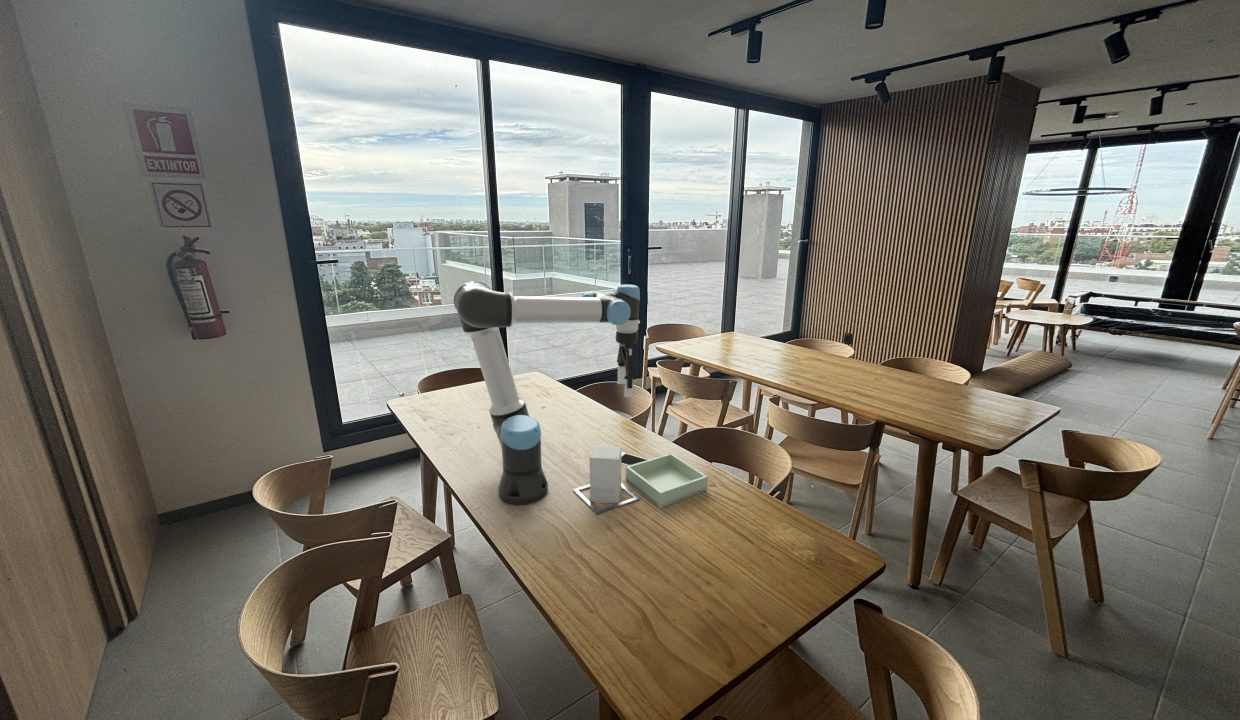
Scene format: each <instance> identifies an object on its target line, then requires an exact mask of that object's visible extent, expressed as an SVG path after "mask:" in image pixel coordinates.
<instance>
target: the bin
mask: <svg viewBox="0 0 1240 720" xmlns="http://www.w3.org/2000/svg"><path fill="white" fill-rule="evenodd" d="M708 478H709V476H708V475H706V474H705V473H703V472H701V471H700V470H699V469H697V468H696V467H694V466H692V465H691V464H689V463H687V462H686V461H684V460H683V459H681V458H680V457H678V456H676V455H675V454H673V453H672V452H670V453H667V454H664V455H660V456H657V457H654V458H650V459H649V460H647V461H643V462H640V463H637V464H633V465H630V466H625V481H626V482H627V483H628V484H629V485H631V486H632V487H633V488H635V489H636V490H637V491H638V492H639V493H640V494H642V495H643V496H644V497H645V498H647V499H648V500H650V501H651V502H652V503H653V504H655V505H656V506H657V507H658V508H659V509H662V508H664V507H666V506H669V505H672V504H674V503H678V502H681V501H683V500H686V499H688V498H691V497H694V496H696V495H699V494H701V492H702V493H704V492H703V491H705V490H707V491H708ZM705 492H706V491H705ZM698 493H699V494H698Z"/></svg>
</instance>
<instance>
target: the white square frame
mask: <svg viewBox="0 0 1240 720" xmlns="http://www.w3.org/2000/svg"><path fill="white" fill-rule="evenodd" d="M588 489H590V483H589V484H586V485H583V486H579V487H576V488H573V492H574V494H576V495H577V496H578V497H579V498H580V499H581V501H583V502H584V504H585V505H587V506H588V507H589V508H590V509H591V510H592V511H593V513H595V515H600V514H602V513H605V512H608V511H612V510H614V509H617V508H620V507H624V506H625V505H628V504H629V505H630V504H631V503H634V502H635V503H636V502H637V501H640V497H639V496H637V495H636V494H635V493H634V492H633V491H631V490H630V489H629V488H628V487H626V485H624V484H623V483H622V482H621V490H622V491H624V492H625V493H626V494H627V495H629V496H630V497H631V498H628V499H626V500H623V501H619V503H617V504H616V503H613V504H612V505H609V506H605V507H602V508H600V509H598V508H597V506H595V505H594V504H593V502H590V499H588V498H587V497H586V496H585V495H584V494H583V493H582V492H581V491H585V490H588Z"/></svg>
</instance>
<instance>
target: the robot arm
mask: <svg viewBox="0 0 1240 720" xmlns="http://www.w3.org/2000/svg"><path fill="white" fill-rule="evenodd" d="M640 298H641V293H640V287H639V286H638V285H635V284H619V285H618V286H617V289H616V291H590V292H589V291H588V292H584V293H583V295H582V297H576V296H575V297H573V296H518V295H516V296H515V295H513V294H512V293H511V292H502V291H495V290H492V289H491V288H490V286H489V285H487V284H486V283H484V282H481V281H468V282H465V283H462V284H461V285H460V286H459V287H458V288H457V289H456V292H455V293H454V296H453V305H454V308H455V310H456V312H457V314H458V315H457V316H458V318H459V321H460V324H461V327H462V330H463V333H465V334H467V335H469V336H470V339H471V342H472V345H473V348H474V351H475V354H476V357H477V360H478V363H479V366H480V370H481V373H482V376H483V379H484V383H485V386H486V389H487V392H488V395H489V398H490V402H491V406H490V408H489V409H488V411H489V414H490V418H491V421H492V427H493V431H494V432H495V434H496V436H497V438H498V439H497V440H498V442H499V445H500V448H501V455H502V473H501V476H500V480H499V483H498V488H497V489H498V490H497V491H498V497H499V499H500V500H501V501H503V502H505V504H510V505H516V506H523V505H528V504H529V505H530V504H534V503H536V502H538V501H540V500H542V499H544V498H545V497H546V496H547V494H548V491H549V484H548V480H547V477H546V475H545V473H544V470H543V468H542V439H541V437H542V430H541V426H540V422H539V421H538V420H537V419H536V418H534V417H532V416H530V414H529V412H528V407H527V404H526V400H525V399H524V398H523V397H521V396H519V394H518V390H517V386H516V384H515V380H514V377H513V373H512V370H511V367H510V363H509V360H508V356H507V353H506V349H505V346H504V342H503V338H502V336H501V333H500V328H511V327H512V326H513V325H515V324H566V323H567V324H568V323H569V324H571V323H572V324H573V323H575V324H576V323H578V324H579V323H581V324H582V323H585V324H586V323H587V324H588V323H591V324H592V323H594V324H595V323H598V324H599V323H601V324H603V323H610V324H612V325H614V326H615V329H616V331H615V341H616V343H618V344H619V345H618V352H617V357H616V359H617V360H616V363H617V385H624V397H625V398H630V397H631V398H633V397H634V380H635V379H636V368H635V349H634V348H633V347H632V345H633V344H637V343H638V341H639V339H638V338H639V332H638V330H639V324H641V321H640V320H639V317H640V315H639V313H640V301H641V299H640Z"/></svg>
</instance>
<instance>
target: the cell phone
mask: <svg viewBox="0 0 1240 720" xmlns="http://www.w3.org/2000/svg"><path fill="white" fill-rule="evenodd" d="M647 460H650V459H648V458H646V457H645V458H644V457H641V456H638V455H634V454H631V453H628V452H624V451H621V465H623V466H625V467H627V466H630V465H633V464H637V463H640V462H643V461H647Z"/></svg>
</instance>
